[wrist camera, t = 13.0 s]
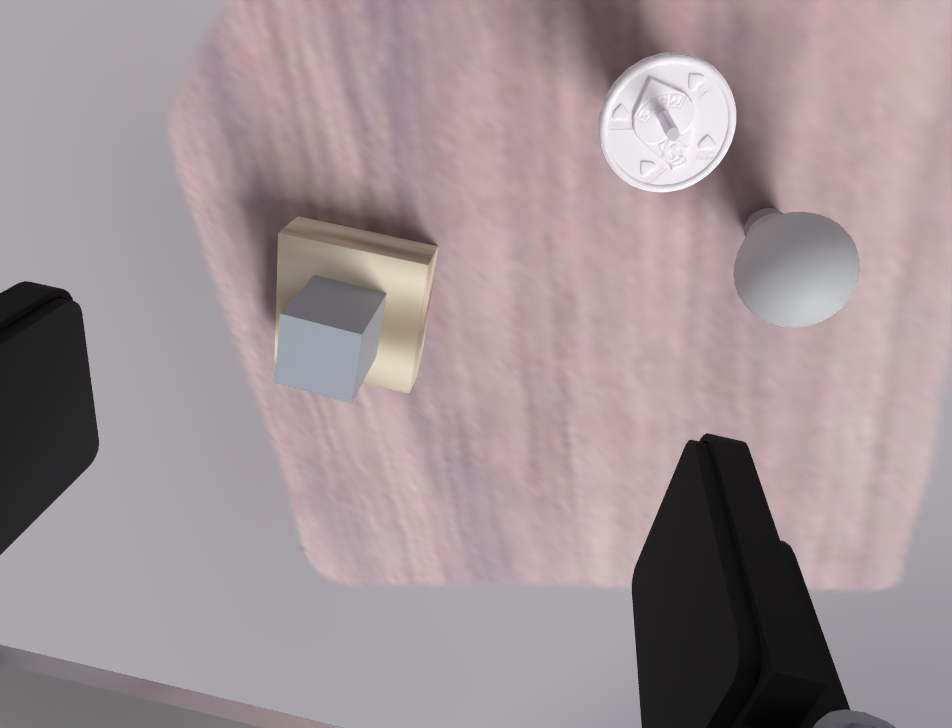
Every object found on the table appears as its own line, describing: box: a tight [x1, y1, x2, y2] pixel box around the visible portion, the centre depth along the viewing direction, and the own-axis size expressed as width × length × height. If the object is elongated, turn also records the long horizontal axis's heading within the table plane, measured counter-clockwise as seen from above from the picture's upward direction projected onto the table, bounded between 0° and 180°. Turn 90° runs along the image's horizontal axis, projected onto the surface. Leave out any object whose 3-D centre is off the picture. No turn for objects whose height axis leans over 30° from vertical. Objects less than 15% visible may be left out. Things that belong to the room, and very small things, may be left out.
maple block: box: [275, 216, 438, 393], centre depth 49 cm, size 10×10×4 cm
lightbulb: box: [734, 208, 860, 327], centre depth 39 cm, size 6×6×11 cm
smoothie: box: [598, 52, 736, 192], centre depth 35 cm, size 6×6×14 cm
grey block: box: [275, 275, 387, 403], centre depth 45 cm, size 5×5×6 cm
